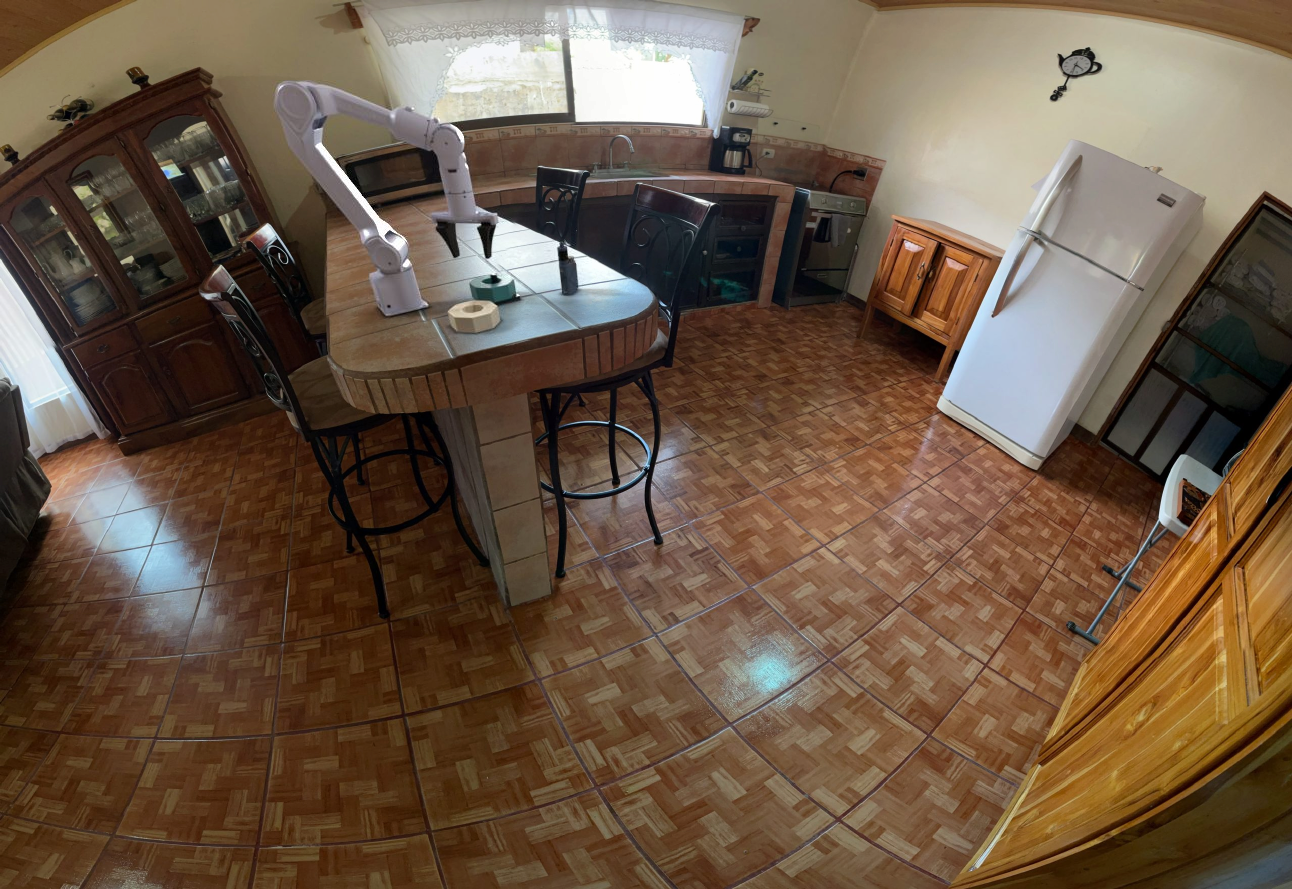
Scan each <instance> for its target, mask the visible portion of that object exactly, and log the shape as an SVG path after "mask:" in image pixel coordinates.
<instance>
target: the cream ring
mask: <svg viewBox="0 0 1292 889" xmlns="http://www.w3.org/2000/svg"><path fill="white" fill-rule="evenodd" d="M447 315H448V319H449V322H450V326H451V328H452V329H454V330H455V331H456V332H457V333H463V334H479V333H480V332H484V331H489V330H493V329H494V328H496V326H497V325H498V324H499V323H500V322H501V318H500V312H499V307H498V306H496V305H495V304H494V303H492V302H491V301H478V300H476V299H474V300H469V301H464V302H460V303H456V304H454V305H453V306H452V307H451V308H450V309H448V310H447Z"/></svg>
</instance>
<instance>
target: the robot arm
mask: <svg viewBox="0 0 1292 889" xmlns="http://www.w3.org/2000/svg"><path fill="white" fill-rule="evenodd" d="M273 109H274V110H275V112H276V113H277V115H278V116H279V119H280V123H281V126H282V129H283V132H284V135H285V139H286V142H287V145H288V147H289V149H290V150H291V151H292V152H293V154H294V155H295V157H296V158H297V159H298V160H299V161H300V162H301V163H302V165H303V166H304V167H305V168H306V170H307V171H308V173H310V174H311V176H312V178H314V180H315V181H316V182H317V183H318V184H319V186H320V187H321V188H322V189H323V190H324V192H325V193H326V194H327V195H328V196H329V198H330V199H331V200H332V201H333V203H334V204H335V205H336V207H338V209H339V210H340V211H341V212H342V214H343V215H344V216H345V217H346V218H347V220H348V221H349V222H350V224H352V226H353V227H354V228H355V229H356V231H357V232H358V233H359V236H360V240H361V244H362V246H363V247H364V248H365V250H366V251H367V253H368V256H369V259H370V262H371V263H372V265H373V266H374V267H375V268H376V269H377V270H376V271H374V272H371V273H368V278H369V283H370V286H371V288H372V291H373V294H374V297H375V301H376V304H377V307H378V308H379V309H380V311H381V312H382V313H383V314H384V315H385V317H391V316H396V315H400V314H405V313H410V312H412V311H413V312H414V311H418V310H421V309H425V308H429V304H428V303H427V302H426V301H425V300H424V299H422V296H421V292H420V289H419V285H418V282H417V279H416V274H415V272H414V267H413V264H412V262H411V261H410V260H409V259H408V257H409V254H410V245H409V243H408V241H407V240H406V238H405V237H404V236H403V235H401V234H400V233H397V231H395V230H394V229H393V228H392V227H391V225H390V224H389V223H387V222H386V221H384V220H382V219H381V218H380V217H379V215H377V213H376V212H375V211H374V210H373V208H372V207H371V205H370V204H369V203H368V201H367V200H366V199H365V198H364V196H362V194H361V192H360V191H359V190H358V189H357V187H356V186H355V185H354V184H353V182H352V181H351V180H350V179H349V177H348V176H347V175H346V174H345V172H344V171H343V170H342V168H341V167H340V166H339V164H338V163H337V162H336V160H335V159H334V158H333V157H332V156H331V154H330V152H328V150H327V149H326V148H325V146H323V144H322V141H323V133H324V132H323V131H324V125H325V124H326V121H327V120H328V118H329V116H334V115H346V116H349V117H352V118H354V119H358V120H361V121H364V122H366V123H370V124H373V125H376V126H378V127H382V128H385V129H388V130H389V132H390V133H391V134H392V136H393V137H394V139H395V140H398V141H400V142H404V143H405V144H409V145H412V146H414V147H416V148H420V149H423V150H425V151H428V152H430V151H433V152H434V154H435V155H436V157H437V162H438V166H439V173H440V178H441V182H442V186H443V191H444V196H445V200H446V205H447V209H448V211H439V212H437V211H435V212H432V213H430V214H429V217H430V220H431V224H432V225H434V224H435V225H436V226H435V227H434V229H435V231H436V232H437V233H438V234H439V236H440V237H441V239H442V240H443V241H444V243H445V244H446V246H447V248H448V250H449V251H450V253H451V256H452V258H453V259H457V258H459V257H460V256H461V253H460V252H461V251H460V247H459V243H458V238H457V227H456V226H457V225H456V224H468V225H469V224H470V225H474V224H478V226H477V227H476V230H477V233H478V235H479V238H480V241H481V245H482V250H483V255H484V258H485V259H486V260H489V259H491V258H492V257H493V240H494V236H495V231H496V228H497V224H499V217H498V213H497V212H485V211H477V205H476V201H475V195H474V191H473V184H472V180H471V175H470V174H471V173H470V170H469V166H468V164H467V157H466V154H465V152H463V151H464V148H465V138H464V135H463V133H462V132H461V130H460V129H459V128H458V127H456V126H455V125H453V124H452V123H450V122H443V123H440V122H441V121H440V118H438V117H435V116H433V118H430V117H428V116H426V115H424V114H420V113H418V112H416V111H414V110H415V109H414V107H412V106H409V105H405V106H404V107H402V106H397V107H396V108H394V109H392V110H390V109H387V108H386V107H383V106H381V105H378V104H376V103H374V102H371V101H369V100H366V99H363V98H362V97H359V96H357V95H354V94H352V93H350V92H347V91H345V90H342V89H339V88H337V87H333V86H330V85H326V84H321V83H320V84H318V83H317V82H315V81H312V80H309V79H307V80H306V79H305V80H304V79H303V80H300V81H293V80H285V81H282V82H280V83H279V84H278V85H277V87H276V89H275V95H274V102H273ZM479 224H480V225H479Z"/></svg>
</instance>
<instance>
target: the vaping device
mask: <svg viewBox="0 0 1292 889" xmlns="http://www.w3.org/2000/svg"><path fill="white" fill-rule="evenodd" d="M556 250H557V258H558V259H557V260H558V268H559V269H558V270H559V277H560V286H561V287H560V288H561V295H564V296H570V295H573V294H575V293H576V292H578V291H579V276H578V268H577V267H578V266H577V263H576V260H575V256H573V255H569V252H568V246H567V245H565V242H563V241H562V242H559V246H557V247H556Z"/></svg>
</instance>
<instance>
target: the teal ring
mask: <svg viewBox="0 0 1292 889" xmlns="http://www.w3.org/2000/svg"><path fill="white" fill-rule="evenodd" d="M490 274H491V273H489V274H485V275H481V276H477V277H474V278H473V279H472V280H471V281H469V282H468V285H469V290H470V293H471V297H472V298H473V299H474V300H478V301H491V302H498V301H502V300H506V299H510V298H511V297H512V296H513V295H514V294H515V293H516V294H517V289H516V283H515V279H514V278H513V277H512V276H510V275H509V274H503V273H502V274H501V273H499V274H498V273H497V276H498V282H499V283H495V284H492V282H491V277H490Z"/></svg>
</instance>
